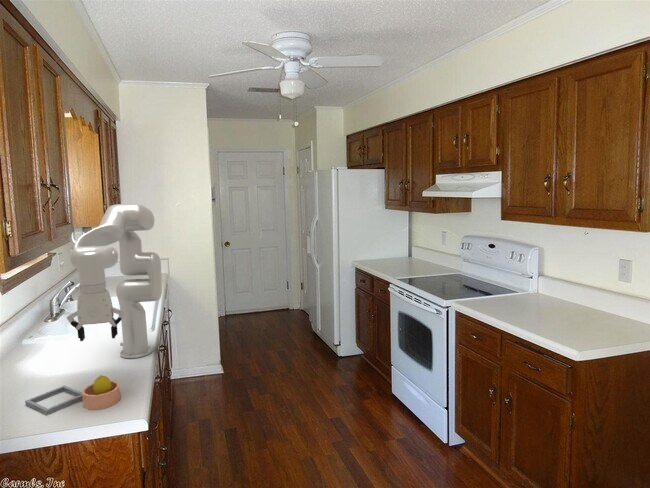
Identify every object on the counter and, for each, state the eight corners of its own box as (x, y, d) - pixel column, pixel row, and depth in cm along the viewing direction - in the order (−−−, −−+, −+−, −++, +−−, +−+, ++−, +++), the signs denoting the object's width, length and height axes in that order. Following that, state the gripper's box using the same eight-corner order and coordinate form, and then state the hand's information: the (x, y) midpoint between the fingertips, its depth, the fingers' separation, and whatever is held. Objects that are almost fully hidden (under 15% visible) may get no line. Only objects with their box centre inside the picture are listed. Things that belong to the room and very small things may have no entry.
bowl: (76, 404, 155) (74, 391, 154) (107, 390, 164) (106, 378, 164) (96, 412, 149) (94, 399, 149) (127, 398, 159) (126, 385, 158)
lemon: (94, 396, 158) (92, 373, 157) (112, 393, 161) (110, 370, 159) (93, 403, 153) (91, 380, 152) (112, 400, 156) (110, 377, 154)
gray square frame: (25, 405, 155) (25, 400, 155) (64, 389, 166) (64, 385, 166) (46, 415, 148) (46, 410, 148) (86, 398, 159) (86, 394, 159)
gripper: (60, 293, 148) (66, 345, 151) (119, 289, 152) (124, 340, 155) (67, 287, 155) (73, 337, 158) (123, 283, 159) (128, 332, 162)
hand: (98, 338), depth 156 cm, fingers open, 9 cm apart
